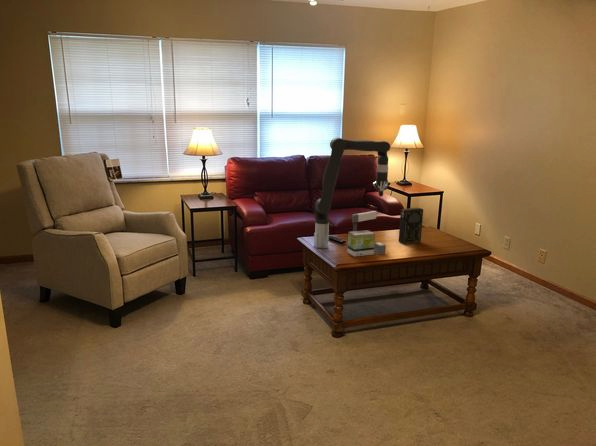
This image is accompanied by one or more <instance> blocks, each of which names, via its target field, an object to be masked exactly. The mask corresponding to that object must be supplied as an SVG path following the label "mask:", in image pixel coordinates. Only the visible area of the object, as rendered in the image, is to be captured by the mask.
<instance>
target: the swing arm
mask: <svg viewBox="0 0 596 446" xmlns="http://www.w3.org/2000/svg"><path fill="white" fill-rule="evenodd" d="M375 219H377V210H372V211H366V212H361V213H353V214H352V219H351V222H352V223H353V222H354V223H357V224H358V223H359V222H363V221H364V222H365V221H369V220H375Z"/></svg>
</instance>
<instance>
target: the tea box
mask: <svg viewBox="0 0 596 446" xmlns="http://www.w3.org/2000/svg"><path fill="white" fill-rule="evenodd" d="M375 241H376V233H374V232H372V231H371V230H368V229H367V230H357V231H353V230H352V231H348V236H347V249H346V250H347V251H346V252H347V254H349V255H351V256H353V258H355V257H362V256H371V255H374V253H375V252H374V245H375Z"/></svg>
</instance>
